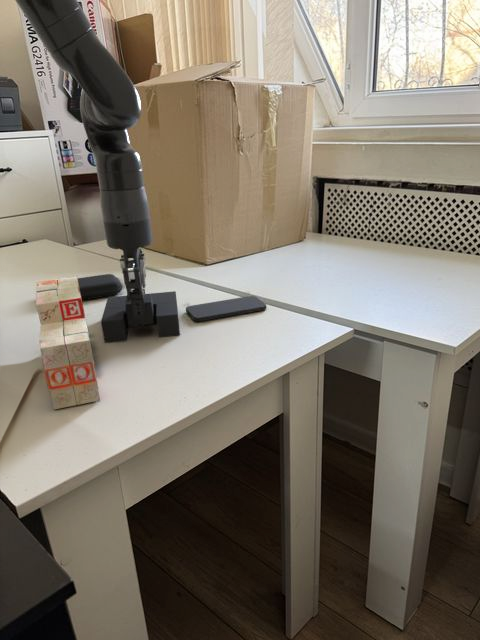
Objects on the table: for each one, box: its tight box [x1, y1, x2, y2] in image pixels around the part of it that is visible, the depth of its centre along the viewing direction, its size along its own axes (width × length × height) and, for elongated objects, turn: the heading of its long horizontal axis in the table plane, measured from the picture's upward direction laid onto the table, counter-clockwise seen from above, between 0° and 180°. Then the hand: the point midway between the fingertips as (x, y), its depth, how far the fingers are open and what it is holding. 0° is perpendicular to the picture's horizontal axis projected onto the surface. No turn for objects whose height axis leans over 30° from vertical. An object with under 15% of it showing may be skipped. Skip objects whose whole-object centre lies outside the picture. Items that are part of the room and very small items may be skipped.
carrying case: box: [77, 273, 124, 301], centre depth 112 cm, size 11×3×15 cm
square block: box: [125, 293, 154, 326], centre depth 90 cm, size 4×4×4 cm
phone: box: [185, 295, 267, 322], centre depth 100 cm, size 7×1×15 cm
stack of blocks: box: [35, 276, 101, 410], centre depth 75 cm, size 21×6×12 cm, turn 21°
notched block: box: [100, 290, 181, 343], centre depth 94 cm, size 13×13×4 cm
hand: (140, 313), depth 90 cm, fingers closed on square block, 4 cm apart
